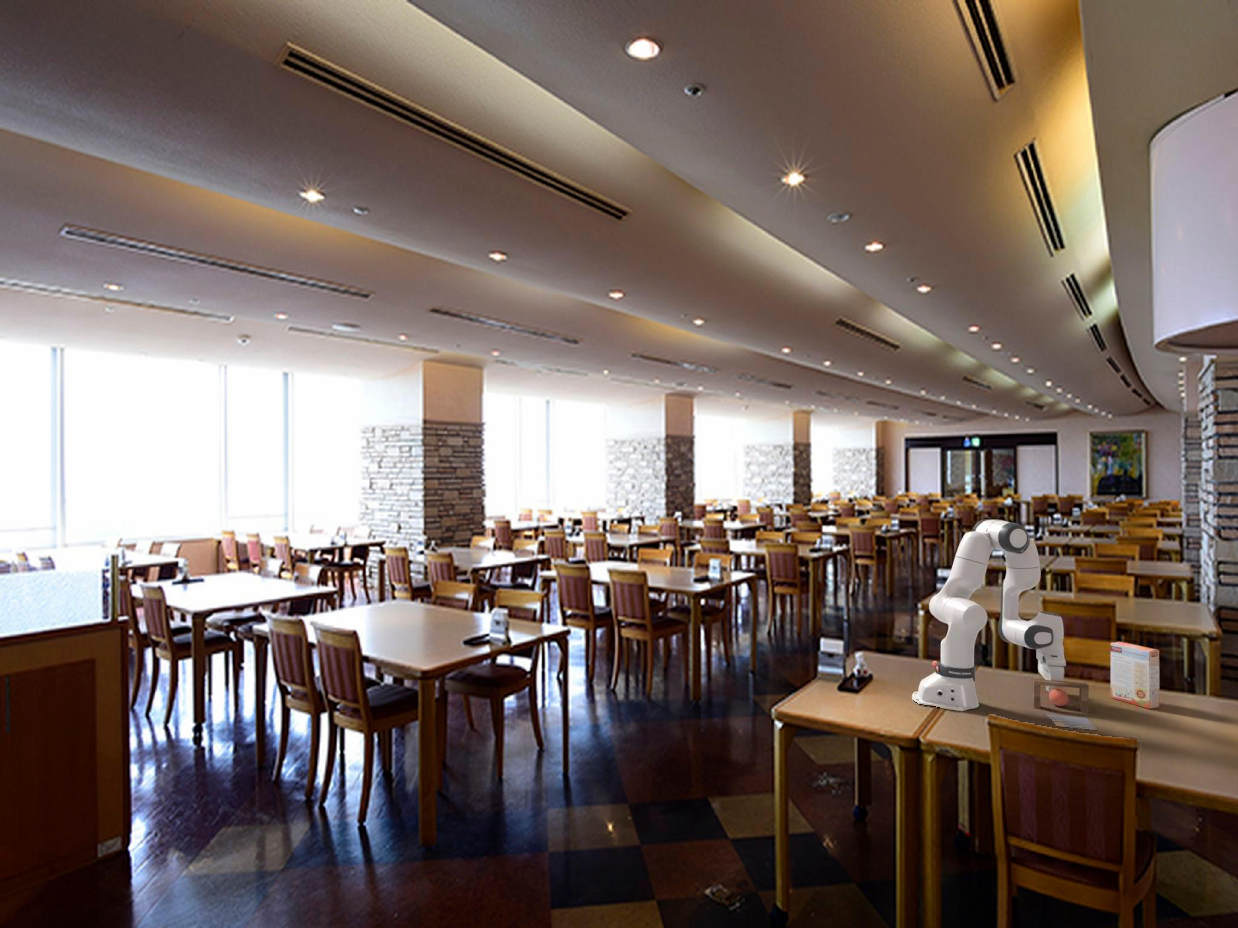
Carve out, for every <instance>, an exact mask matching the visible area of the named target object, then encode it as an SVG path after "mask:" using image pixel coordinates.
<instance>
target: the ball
mask: <svg viewBox="0 0 1238 928" xmlns="http://www.w3.org/2000/svg"><path fill="white" fill-rule="evenodd" d="M1048 698H1049V701H1050V702H1051V703H1052V704H1053V705H1054V706H1057V707H1063V706H1066V705H1067V704H1068V702H1069V700H1070V699H1069V695H1068V693H1067V692H1066V691H1065V690H1064V689H1061V688H1054V689H1053V690H1052V691H1051V692H1050V693H1049V694H1048Z"/></svg>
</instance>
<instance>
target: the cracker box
mask: <svg viewBox="0 0 1238 928" xmlns="http://www.w3.org/2000/svg"><path fill="white" fill-rule="evenodd" d="M1110 698H1111V699H1114V700H1116V701H1117V700H1118V701H1121V702H1124V703H1128V704H1130V705H1135V706H1139V707H1142V708H1145V709H1147V708H1148V709H1147V710H1151V709H1156V708H1157V709H1158V708H1160V650H1159V649H1156V648H1152V647H1151V648H1150V647H1147V646H1142V645H1137V644H1132V643H1129V642H1124V641H1116V642H1110Z"/></svg>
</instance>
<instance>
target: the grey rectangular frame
mask: <svg viewBox="0 0 1238 928" xmlns="http://www.w3.org/2000/svg"><path fill="white" fill-rule="evenodd" d="M1046 685H1048V686H1060V687H1059V688H1072V689H1073V688H1074V689H1079V694H1078V695H1079V697H1078V698H1079V700H1078V701H1079V711H1080V712H1081V713H1084V714H1085V713H1086V714H1089V713H1090V712H1089V710H1090V709H1089V707H1090V706H1089V699H1090V698H1089V695H1090V694H1089V689H1090V688H1089V685H1088V683H1087V682H1077V681H1065V680H1064V681H1055V680H1045V679H1044V678H1042V679H1041V678H1031V706H1032V707H1033V708H1034V709H1041V686H1046Z"/></svg>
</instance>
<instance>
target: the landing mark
mask: <svg viewBox="0 0 1238 928" xmlns="http://www.w3.org/2000/svg"><path fill="white" fill-rule="evenodd" d="M1046 716H1047V717H1048V718H1049V720H1050V719H1051V720H1053V719H1054V720H1062V721H1051V720H1050V721H1051V722H1052V723H1053V722H1062V723H1065V724H1064V725H1069V728H1068V729H1073V728H1078V729H1077V730H1081V729H1080V727H1075V726H1086V727H1081V728H1095V730H1098V728H1096V727H1095V726H1094V725H1093V723H1092V722H1091V721H1090V720H1089V719H1088V718H1087V717H1082V716H1081V717H1080V716H1071V715H1059V714H1049V713H1046ZM1090 726H1094V727H1090ZM1088 731H1094V729H1089V730H1088Z"/></svg>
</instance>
